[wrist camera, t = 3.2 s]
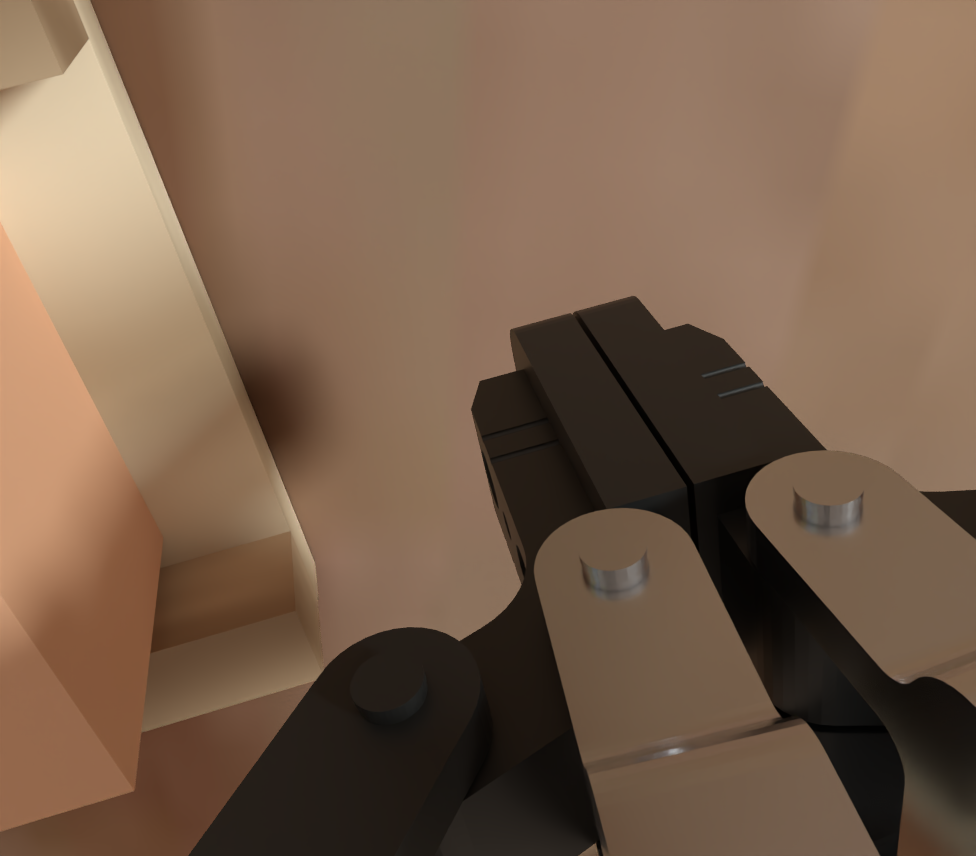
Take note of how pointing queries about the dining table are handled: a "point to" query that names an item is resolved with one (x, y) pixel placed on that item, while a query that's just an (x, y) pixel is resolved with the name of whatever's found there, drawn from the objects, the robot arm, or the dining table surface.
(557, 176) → the dining table surface
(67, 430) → the terracotta block
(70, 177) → the maple chute
